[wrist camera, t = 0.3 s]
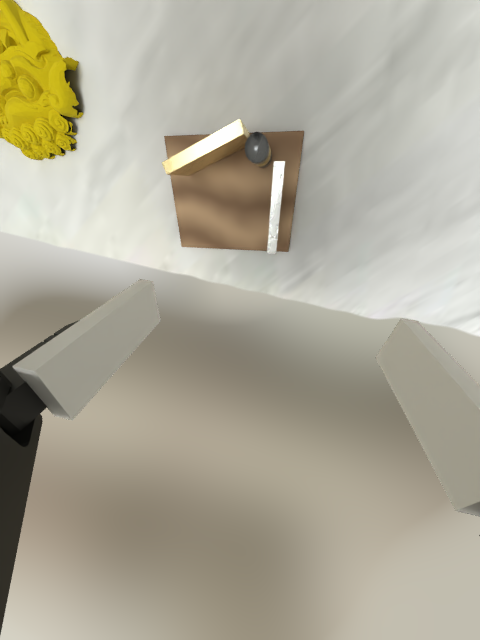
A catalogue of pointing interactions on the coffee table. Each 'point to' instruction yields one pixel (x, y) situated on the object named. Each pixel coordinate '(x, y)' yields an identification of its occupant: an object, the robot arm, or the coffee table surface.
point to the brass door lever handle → (210, 150)
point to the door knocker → (33, 86)
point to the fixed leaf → (258, 155)
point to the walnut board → (235, 196)
